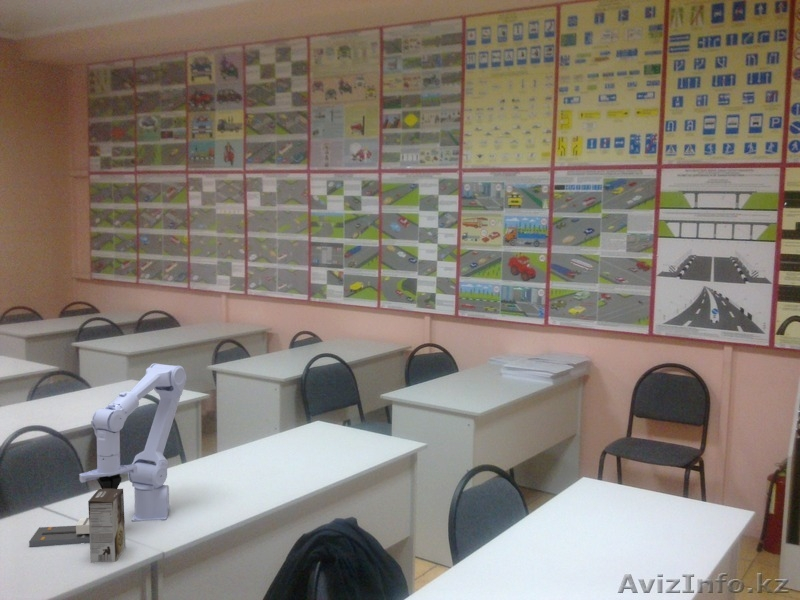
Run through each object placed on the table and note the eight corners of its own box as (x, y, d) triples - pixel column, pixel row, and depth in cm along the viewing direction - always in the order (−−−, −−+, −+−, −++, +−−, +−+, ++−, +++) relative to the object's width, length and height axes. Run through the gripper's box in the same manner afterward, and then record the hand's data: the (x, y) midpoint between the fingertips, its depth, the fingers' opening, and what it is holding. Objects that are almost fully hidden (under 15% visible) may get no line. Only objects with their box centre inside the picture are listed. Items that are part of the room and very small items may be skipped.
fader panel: (101, 529, 207) (101, 524, 207) (94, 543, 199) (94, 537, 198) (39, 532, 205) (39, 527, 204) (29, 546, 196) (29, 540, 196)
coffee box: (100, 549, 195) (98, 488, 194) (126, 548, 196) (124, 487, 195) (89, 564, 186) (86, 500, 185) (116, 563, 187) (114, 499, 186)
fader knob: (96, 526, 205) (96, 517, 205) (92, 533, 200) (92, 524, 200) (80, 526, 204) (80, 517, 204) (76, 534, 199) (75, 525, 199)
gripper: (130, 445, 209) (131, 493, 210) (75, 454, 200) (76, 504, 201) (139, 451, 203) (140, 500, 205) (83, 461, 194) (84, 512, 196)
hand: (109, 503), depth 203 cm, fingers closed
